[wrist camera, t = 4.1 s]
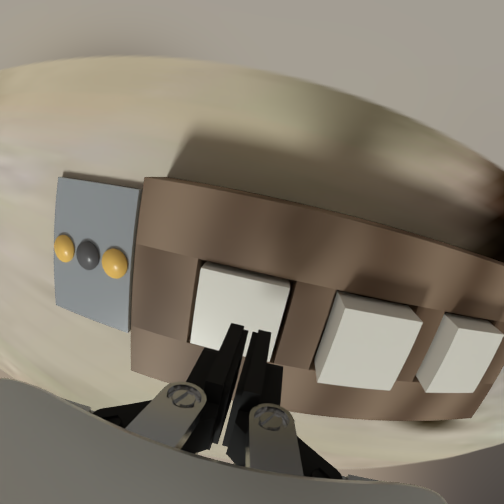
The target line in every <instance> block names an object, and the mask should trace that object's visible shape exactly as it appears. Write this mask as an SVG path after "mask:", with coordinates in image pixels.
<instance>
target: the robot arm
mask: <svg viewBox="0 0 504 504" xmlns="http://www.w3.org/2000/svg"><path fill="white" fill-rule="evenodd" d="M248 331H249V330H244V326H243V325H239V324H235V323H231V324H230V327H229V329H228V331H227V334H226V336H225V338H224V340H223V343H222V345H221V347H220V349H219V351H217V350H213V349H210V348H206V347H205V348H204V349H203V351H202V352H201V354H200V356H199V358H198V360H197V362H196V364H195V365H194V367H193V369H192V371H191V373H190V375H189V377H188V378H187V380H186V382H181V381H180V382H173V383H170V384H168V385H167V386H165V387H164V388H163V389H162V390H161V391H160V393H159V394H158V395H157V396H156V397H155V398H154V399H153V400H150V401H145V402H139V403H134V404H128V405H122V406H116V407H109V408H103V409H99V410H97V411H92V410H91V407H88V406H85V405H82V404H78V403H75V402H72V401H69V400H66V399H63V398H60V397H58V396H56V395H54V394H53V393H50V392H48V391H46V390H44V389H42V388H40V387H37V386H34V385H32V384H29V383H26V382H23V381H19V380H15V379H9V378H0V504H447V502H446V501H445V499H444V498H443V497H442V496H441V495H439V494H438V493H436V492H434V491H432V490H430V489H427V488H424V487H419V486H415V485H411V484H405V483H398V482H385V481H378V480H372V479H368V478H363V477H358V476H353V475H348V476H347V477H344V476H341V474H340V473H339V472H338V470H337V469H336V468H334V467H333V466H332V465H331V464H329V463H328V462H327V461H326V460H324V459H323V458H322V457H321V456H320V455H318V454H317V453H316V452H315V451H314V450H312V449H311V448H310V447H309V446H308V445H307V444H305V443H304V442H303V441H302V440H301V439H300V438H299V437H297V435H296V429H295V423H294V419H293V417H292V415H291V414H290V412H289V411H288V410H286V409H285V408H283V407H281V406H280V403H281V391H282V379H283V366H279V365H275V364H270V363H267V359H268V352H269V346H270V340H271V333H272V332H268V331H263V330H258V333H257V332H252V336H251V339H250V343H249V347H248V350H247V354H246V357H245V361H244V364H243V368H242V371H241V375H240V378H239V382H238V385H237V389H236V393H235V397H234V401H233V405H232V409H231V413H230V417H229V421H228V425H227V429H226V433H225V436H224V440H223V444H222V445H223V446H227V447H228V449H227V452H226V454H227V455H228V456H229V457H230V458H231V460H232V461H233V462H234V464H230V463H226V462H222V461H218V460H214V459H211V458H207V457H203V456H200V455H198V452H201V451H204V450H206V449H208V450H210V448H211V445H212V443H216V444H218V441H219V438H220V435H221V432H222V429H223V425H224V422H225V419H226V416H227V412H228V409H229V406H230V402H231V399H232V396H233V392H234V389H235V386H236V382H237V378H238V374H239V369H240V365H241V361H242V357H243V353H244V348H245V344H246V340H247V335H248Z"/></svg>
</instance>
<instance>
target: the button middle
mask: <svg viewBox="0 0 504 504" xmlns="http://www.w3.org/2000/svg"><path fill="white" fill-rule="evenodd" d="M422 324H423V322H422V321H421V319H420V318H419V317H418V316H417V315H416V314H415V313H414V312H413V310H412V309H411V308H410V307H409V306H408V305H404V304H398V303H393V302H388V301H383V300H379V299H374V298H369V297H364V296H359V295H354V294H349V293H345V292H340V291H337V294H336V297H335V300H334V303H333V306H332V309H331V313H330V316H329V319H328V322H327V325H326V327H325V330H324V333H323V336H322V339H321V342H320V345H319V347H318V350H317V353H316V356H315V358H314V363H315V370H316V377H317V383H324V384H331V385H339V386H347V387H356V388H365V389H376V390H388V391H390V390H391V388H392V386H393V385H394V383H395V381H396V379H397V377H398V375H399V373H400V371H401V369H402V367H403V365H404V363H405V361H406V359H407V357H408V355H409V353H410V351H411V349H412V346H413V344H414V342H415V340H416V338H417V335H418V333H419V331H420V328H421V326H422Z"/></svg>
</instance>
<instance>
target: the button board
mask: <svg viewBox="0 0 504 504" xmlns="http://www.w3.org/2000/svg"><path fill="white" fill-rule="evenodd" d="M207 261H211V262H215V263H219V264H224V265H228V266H232V267H237V268H241V269H246V270H250V271H254V272H259V273H263V274H268V275H272V276H277V277H281V278H286V279H289V280H290V290H289V294H288V297H287V301H286V305H285V309H284V312H283V316H282V320H281V323H280V327H279V330H278V334H277V337H276V341H275V344H274V348H273V351H272V355H271V358H270V362H267V363H270V364H275V365H279V366H283V379H282V391H281V403H280V406H281V407H283V408H285V409H286V410H288V411H291V412H297V413H304V414H312V415H320V416H329V417H339V418H350V419H365V420H387V421H429V420H450V419H463V418H471V417H472V416H473V415H474V413H475V412H476V410H477V409H478V407H479V406H480V404H481V403H482V401H483V400H484V398H485V396H486V395H487V393H488V392H489V390H490V388H491V387H492V385H493V383H494V382H495V380H496V378H497V376H498V375H499V373H500V371H501V369H502V367H503V366H504V336H503V338H502V341H501V343H500V345H499V347H498V349H497V351H496V353H495V355H494V357H493V359H492V361H491V363H490V364H489V366H488V368H487V370H486V372H485V374H484V375H483V377H482V379H481V381H480V382H479V384H478V386H477V387H476V389H475V391H474V392H473V393H426V392H425V391H424V389H423V387H422V385H421V384H420V382H419V380H418V378H417V377H416V373H417V371H418V369H419V368H420V366H421V364H422V362H423V360H424V358H425V356H426V354H427V352H428V349H429V347H430V345H431V343H432V341H433V339H434V336H435V334H436V332H437V330H438V327H439V325H440V323H441V320H442V318H443V316H444V313H450V314H456V315H461V316H466V317H472V318H477V319H483V320H487V321H489V322H490V323H491V324H492V325H493V326H495V327H496V328H497V329H498V330H499V331H501V332H502V333H503V334H504V263H502V262H500V261H497V260H494V259H491V258H488V257H485V256H483V255H480V254H477V253H474V252H471V251H468V250H465V249H462V248H459V247H456V246H453V245H450V244H446V243H443V242H440V241H437V240H434V239H430V238H427V237H424V236H421V235H417V234H414V233H411V232H407V231H404V230H400V229H397V228H393V227H390V226H386V225H383V224H379V223H375V222H372V221H368V220H364V219H360V218H357V217H353V216H349V215H345V214H341V213H337V212H333V211H329V210H325V209H321V208H317V207H313V206H309V205H304V204H300V203H296V202H291V201H287V200H283V199H278V198H273V197H269V196H264V195H260V194H255V193H250V192H245V191H240V190H235V189H230V188H225V187H220V186H215V185H209V184H204V183H198V182H193V181H187V180H181V179H175V178H169V177H145V178H144V185H143V191H142V198H141V205H140V213H139V221H138V229H137V238H136V248H135V260H134V273H133V288H132V310H131V370H132V371H134V372H137V373H140V374H143V375H146V376H149V377H152V378H155V379H158V380H161V381H164V382H167V383H173V382H180V381H181V382H186V380H187V378H188V377H189V375H190V373H191V371H192V369H193V367H194V365H195V364H196V362H197V360H198V358H199V356H200V354H201V352H202V351H203V349H204V348H205V347H203V346H200V345H196V344H192V343H190V340H191V332H192V325H193V317H194V310H195V303H196V296H197V289H198V283H199V276H200V270H201V267H202V266H203V265H204V264H205V263H206V262H207ZM337 291H340V292H345V293H349V294H354V295H359V296H364V297H369V298H374V299H379V300H383V301H388V302H393V303H398V304H404V305H408V306H409V307H410V308H411V309H412V310H413V312H414V313H415V314H416V315H417V316H418V317H419V318H420V319H421V321H422V322H423V324H422V326H421V328H420V331H419V333H418V335H417V338H416V340H415V342H414V344H413V346H412V349H411V351H410V353H409V355H408V357H407V359H406V361H405V363H404V365H403V367H402V369H401V371H400V373H399V375H398V377H397V379H396V381H395V383H394V385H393V386H392V388H391V390H390V391H388V390H376V389H365V388H356V387H347V386H339V385H331V384H324V383H317V377H316V370H315V363H314V358H315V356H316V353H317V350H318V347H319V345H320V342H321V339H322V336H323V333H324V330H325V327H326V325H327V322H328V319H329V316H330V313H331V309H332V306H333V303H334V300H335V297H336V294H337ZM206 348H207V347H206ZM210 349H211V348H210ZM213 350H215V349H213ZM217 351H219V350H217ZM244 361H245V357H244V356H243V357H242V361H241V365H240V369H239V374H238V378H237V382H236V386H235V389H234V392H233V396H232V399H231V400H233V401H234V397H235V393H236V389H237V385H238V382H239V378H240V375H241V371H242V368H243V364H244Z"/></svg>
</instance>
